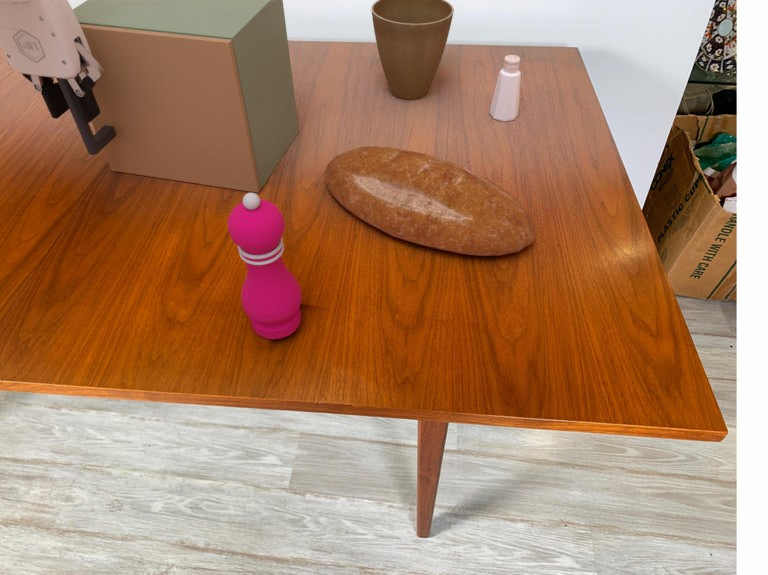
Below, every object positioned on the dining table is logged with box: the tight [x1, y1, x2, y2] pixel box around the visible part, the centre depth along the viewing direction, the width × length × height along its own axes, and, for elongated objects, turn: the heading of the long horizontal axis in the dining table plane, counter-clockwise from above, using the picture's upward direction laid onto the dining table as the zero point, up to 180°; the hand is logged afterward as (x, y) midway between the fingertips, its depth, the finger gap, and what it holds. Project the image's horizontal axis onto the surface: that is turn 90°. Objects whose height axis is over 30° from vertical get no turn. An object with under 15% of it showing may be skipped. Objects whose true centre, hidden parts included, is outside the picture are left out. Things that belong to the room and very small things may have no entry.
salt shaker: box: [488, 54, 522, 122], centre depth 106 cm, size 5×5×11 cm
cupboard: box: [72, 0, 300, 190], centre depth 93 cm, size 18×26×24 cm
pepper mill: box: [227, 192, 302, 340], centre depth 67 cm, size 7×7×20 cm
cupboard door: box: [55, 24, 262, 194], centre depth 85 cm, size 7×26×24 cm, turn 76°
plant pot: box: [370, 0, 455, 100], centre depth 110 cm, size 15×15×16 cm
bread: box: [323, 145, 536, 257], centre depth 86 cm, size 18×35×9 cm, turn 57°
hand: (76, 114), depth 83 cm, fingers open, 4 cm apart
